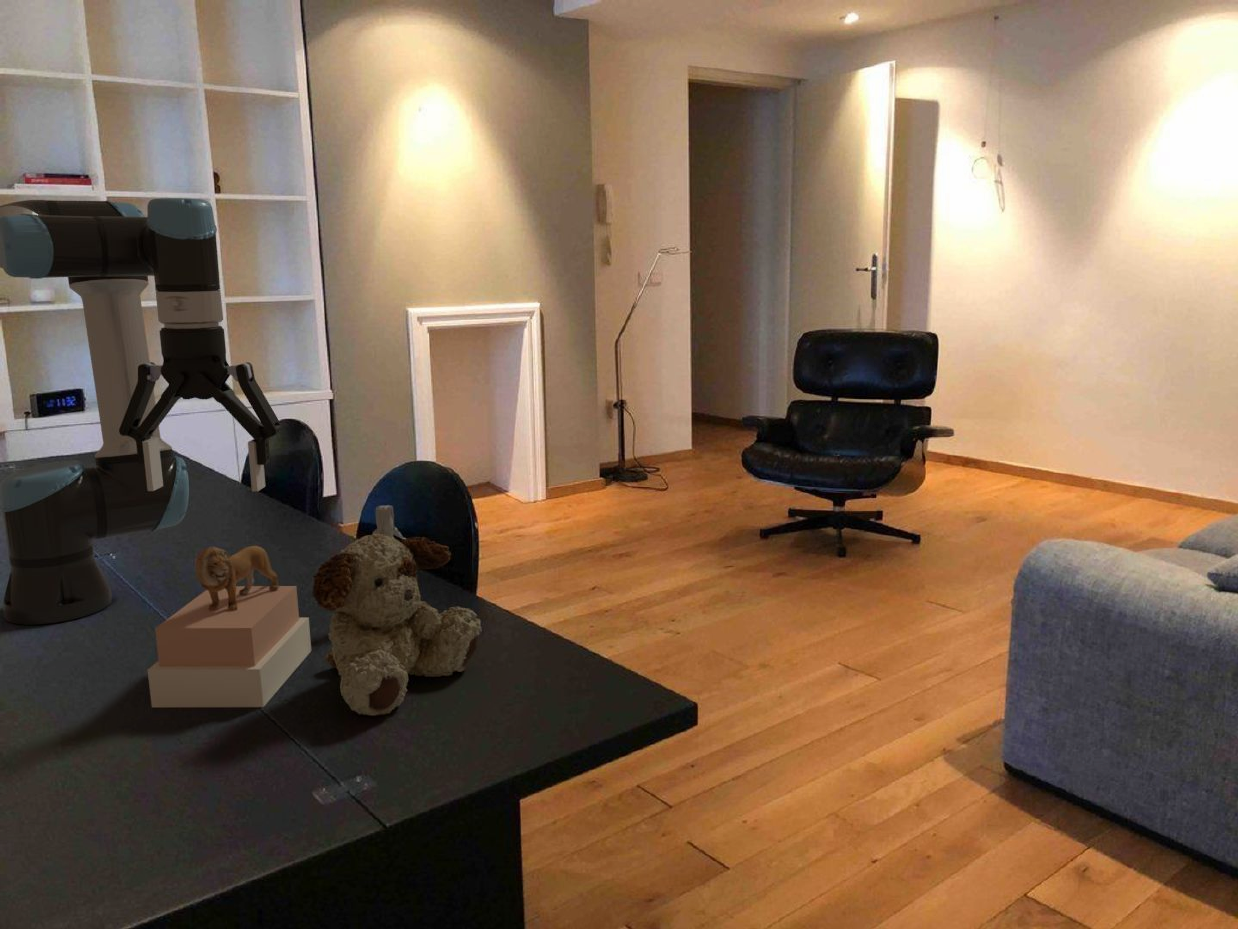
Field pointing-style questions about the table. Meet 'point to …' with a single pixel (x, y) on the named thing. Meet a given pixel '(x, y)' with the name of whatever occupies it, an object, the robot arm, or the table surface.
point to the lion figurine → (232, 572)
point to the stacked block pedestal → (229, 650)
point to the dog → (389, 620)
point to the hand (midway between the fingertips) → (207, 489)
